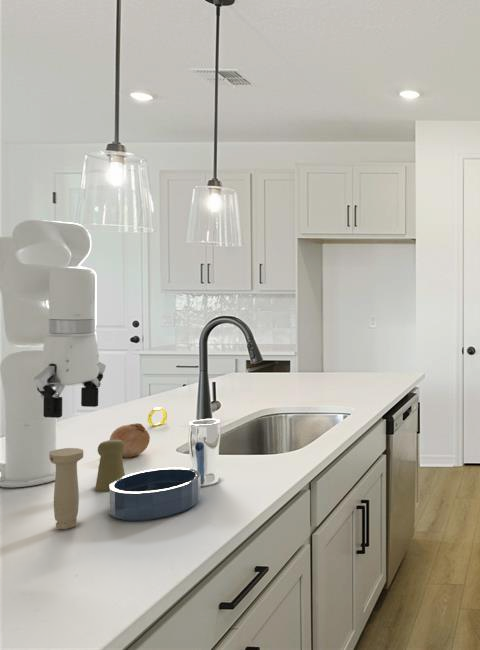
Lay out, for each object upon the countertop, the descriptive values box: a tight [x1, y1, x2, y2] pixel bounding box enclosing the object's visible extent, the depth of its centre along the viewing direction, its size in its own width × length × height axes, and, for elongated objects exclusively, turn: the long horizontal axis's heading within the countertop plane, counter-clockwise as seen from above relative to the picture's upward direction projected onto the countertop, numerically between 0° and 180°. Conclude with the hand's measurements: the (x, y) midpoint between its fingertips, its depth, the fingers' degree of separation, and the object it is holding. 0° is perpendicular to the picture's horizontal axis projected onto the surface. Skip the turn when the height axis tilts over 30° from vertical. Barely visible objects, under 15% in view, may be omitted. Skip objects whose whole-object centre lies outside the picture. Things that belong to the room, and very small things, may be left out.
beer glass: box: [187, 418, 222, 487], centre depth 138 cm, size 7×7×15 cm
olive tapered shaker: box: [95, 439, 126, 492], centre depth 134 cm, size 6×6×11 cm
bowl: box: [108, 467, 201, 522], centre depth 122 cm, size 17×17×6 cm
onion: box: [109, 422, 151, 459], centre depth 159 cm, size 10×9×10 cm
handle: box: [49, 447, 84, 531], centre depth 111 cm, size 5×6×15 cm
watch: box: [147, 406, 168, 427], centre depth 195 cm, size 6×3×6 cm, turn 156°
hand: (72, 411), depth 115 cm, fingers open, 9 cm apart
